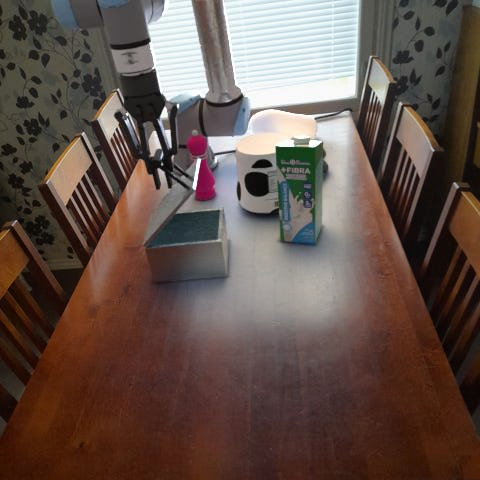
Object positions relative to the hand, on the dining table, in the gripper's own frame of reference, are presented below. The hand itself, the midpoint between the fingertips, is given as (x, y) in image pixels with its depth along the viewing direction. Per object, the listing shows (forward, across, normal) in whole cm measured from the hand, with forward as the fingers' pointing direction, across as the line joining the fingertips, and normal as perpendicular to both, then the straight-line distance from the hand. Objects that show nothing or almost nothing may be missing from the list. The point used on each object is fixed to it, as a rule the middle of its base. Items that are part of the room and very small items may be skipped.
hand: (164, 186), depth 102 cm
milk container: (+21, +23, +26) cm, 40 cm away
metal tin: (+21, +3, 0) cm, 21 cm away
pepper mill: (+21, +4, +35) cm, 41 cm away
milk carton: (+21, +31, +8) cm, 38 cm away
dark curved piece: (+21, +34, +44) cm, 59 cm away
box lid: (+4, +1, 0) cm, 4 cm away
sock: (+21, +31, +72) cm, 81 cm away
